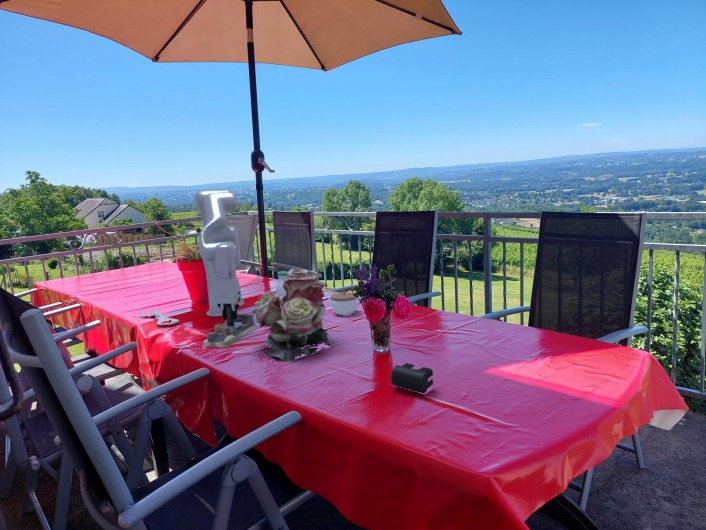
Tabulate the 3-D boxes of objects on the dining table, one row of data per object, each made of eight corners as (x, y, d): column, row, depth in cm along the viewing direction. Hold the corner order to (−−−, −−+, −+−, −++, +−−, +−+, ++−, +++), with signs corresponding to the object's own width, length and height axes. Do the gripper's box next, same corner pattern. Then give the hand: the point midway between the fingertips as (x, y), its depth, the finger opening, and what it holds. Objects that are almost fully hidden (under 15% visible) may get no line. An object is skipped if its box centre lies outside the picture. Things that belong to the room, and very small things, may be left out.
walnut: (214, 339, 176) (212, 326, 175) (218, 335, 179) (217, 323, 179) (224, 339, 175) (222, 326, 174) (228, 335, 179) (227, 323, 178)
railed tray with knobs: (203, 346, 174) (201, 331, 173) (235, 327, 198) (234, 313, 197) (226, 347, 172) (225, 332, 171) (256, 327, 195) (255, 314, 195)
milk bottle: (290, 314, 214) (287, 273, 211) (274, 314, 216) (271, 273, 213) (295, 310, 222) (292, 270, 219) (280, 310, 223) (277, 270, 220)
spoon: (156, 313, 229) (155, 307, 228) (183, 325, 206) (182, 317, 205) (137, 317, 223) (137, 310, 222) (162, 329, 200) (162, 322, 199)
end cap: (390, 391, 129) (390, 368, 127) (404, 382, 134) (403, 360, 133) (421, 399, 122) (421, 375, 121) (434, 390, 128) (434, 367, 127)
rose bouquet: (251, 345, 173) (244, 267, 168) (323, 333, 184) (319, 260, 180) (266, 367, 150) (259, 278, 145) (348, 352, 161) (344, 268, 156)
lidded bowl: (347, 319, 203) (346, 295, 201) (325, 315, 210) (324, 292, 208) (363, 312, 212) (362, 289, 211) (342, 309, 220) (341, 287, 218)
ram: (217, 334, 181) (214, 305, 179) (227, 328, 188) (224, 300, 187) (233, 335, 179) (230, 305, 177) (242, 328, 187) (240, 301, 185)
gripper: (202, 276, 179) (207, 321, 182) (240, 276, 175) (244, 322, 178) (212, 273, 187) (216, 316, 190) (249, 273, 183) (253, 317, 186)
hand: (230, 319), depth 184 cm, fingers closed on ram, 3 cm apart
